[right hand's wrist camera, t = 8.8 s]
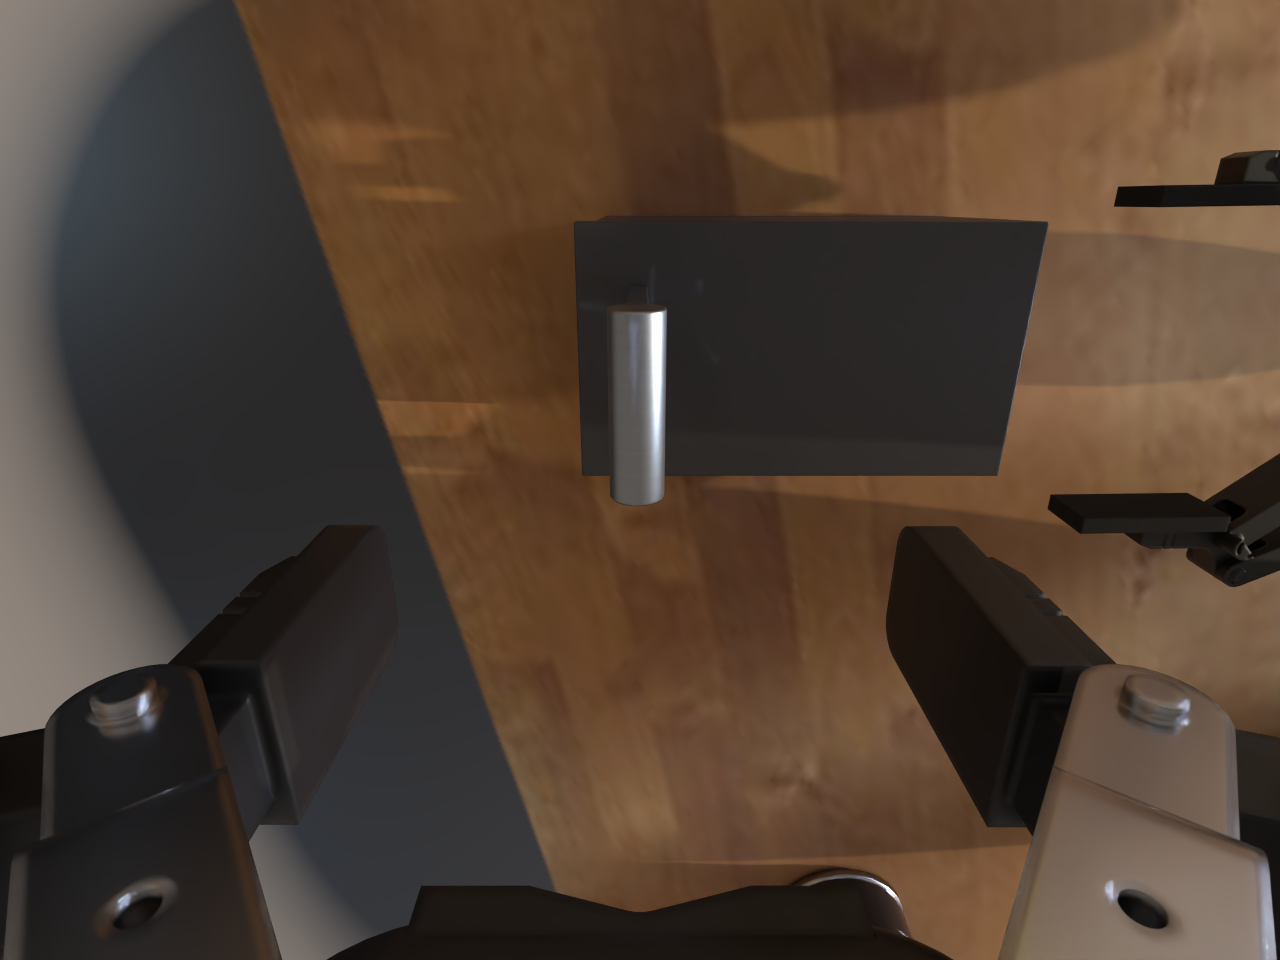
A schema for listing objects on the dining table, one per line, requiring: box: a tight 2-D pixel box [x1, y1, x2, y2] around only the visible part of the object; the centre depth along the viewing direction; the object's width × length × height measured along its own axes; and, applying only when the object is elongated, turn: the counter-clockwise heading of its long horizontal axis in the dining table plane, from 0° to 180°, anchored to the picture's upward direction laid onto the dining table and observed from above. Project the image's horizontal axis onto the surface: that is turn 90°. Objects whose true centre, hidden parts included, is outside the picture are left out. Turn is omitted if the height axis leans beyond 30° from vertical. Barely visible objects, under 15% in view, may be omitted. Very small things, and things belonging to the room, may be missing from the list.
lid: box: [574, 221, 1049, 506], centre depth 23 cm, size 17×10×8 cm, turn 90°
